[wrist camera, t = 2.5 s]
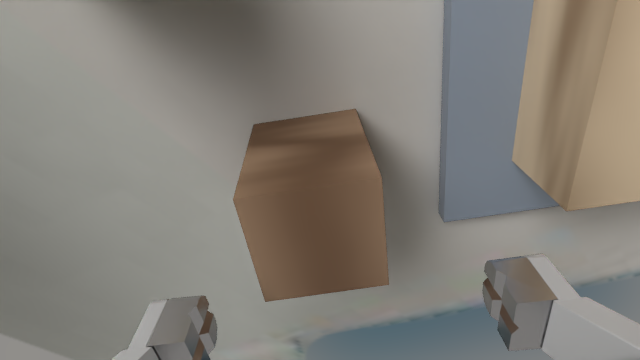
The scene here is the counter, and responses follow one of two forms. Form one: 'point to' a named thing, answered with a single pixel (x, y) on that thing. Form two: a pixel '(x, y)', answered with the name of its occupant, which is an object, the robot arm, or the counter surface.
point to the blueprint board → (484, 110)
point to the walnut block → (312, 207)
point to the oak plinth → (582, 102)
